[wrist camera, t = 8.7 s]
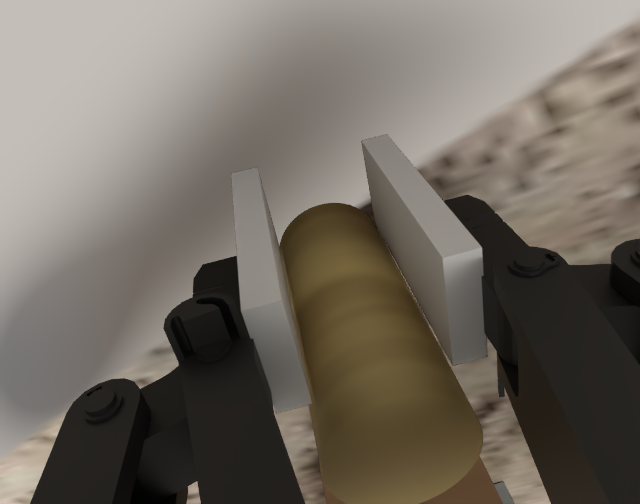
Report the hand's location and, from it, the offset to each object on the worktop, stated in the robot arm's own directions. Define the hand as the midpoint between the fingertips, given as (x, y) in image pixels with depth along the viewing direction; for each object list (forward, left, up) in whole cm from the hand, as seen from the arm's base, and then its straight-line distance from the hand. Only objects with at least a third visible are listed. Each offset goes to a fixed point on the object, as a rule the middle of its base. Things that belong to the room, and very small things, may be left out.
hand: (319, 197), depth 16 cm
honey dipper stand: (-9, -1, 0) cm, 9 cm away
